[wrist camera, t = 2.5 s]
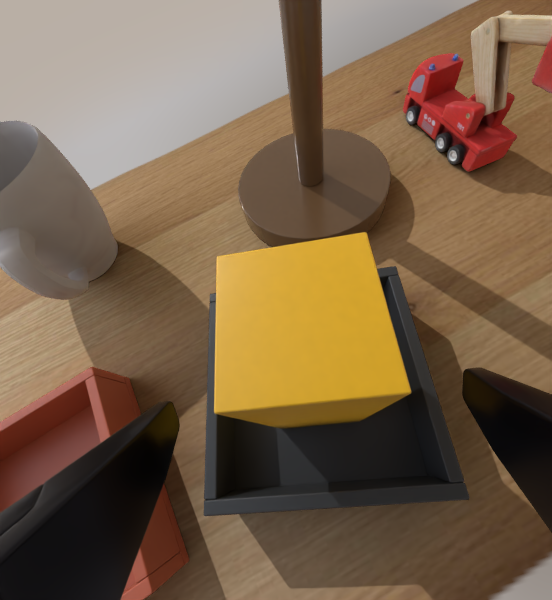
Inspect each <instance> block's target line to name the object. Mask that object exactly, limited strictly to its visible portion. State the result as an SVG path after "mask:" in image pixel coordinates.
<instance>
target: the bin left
mask: <svg viewBox="0 0 552 600" xmlns="http://www.w3.org/2000/svg"><path fill="white" fill-rule="evenodd" d="M140 415H141V413H140V409H139V406H138V403H137V400H136V397H135V394H134V391H133V388H132V385H131V382H130V379H129V378H127V377H123V376H121V375H117V374H114V373H111V372H108V371H104V370H101V369H98V368H95V367H90V368H88V369H87V370H85V371H84V372H82V373H80V374H79V375H77V376H75V377H74V378H72V379H70V380H69V381H67V382H65V383H64V384H62V385H60V386H59V387H57V388H55V389H54V390H52V391H51V392H49V393H47V394H46V395H44V396H42V397H41V398H39V399H37V400H36V401H34V402H32V403H31V404H29V405H27V406H26V407H24V408H23V409H21V410H19V411H18V412H16V413H14V414H13V415H11V416H9V417H8V418H6V419H4V420H3V421H1V422H0V512H2V511H3V510H5V509H6V508H8V507H9V506H11V505H12V504H14V503H15V502H16V501H18V500H19V499H21V498H22V497H24V496H25V495H27V494H28V493H30V492H31V491H32V490H34V489H35V488H37V487H38V486H40V485H41V484H44V483H45V481H47V480H48V479H50V478H51V477H53V476H54V475H55V474H57V473H58V472H60V471H61V470H63V469H64V468H65V467H67V466H68V465H70V464H71V463H73V462H74V461H75V460H77V459H78V458H80V457H81V456H83V455H84V454H85V453H87V452H88V451H90V450H91V449H93V448H94V447H95V446H97V445H98V444H100V443H101V442H103V441H104V440H105V439H107V438H108V437H110V436H111V435H113V434H114V433H115V432H117V431H118V430H120V429H121V428H123V427H124V426H125V425H127V424H128V423H130V422H131V421H133V420H134V419H135V418H137V417H138V416H140ZM188 561H189V557H188V554H187V551H186V548H185V545H184V542H183V539H182V536H181V533H180V530H179V527H178V524H177V521H176V518H175V515H174V512H173V509H172V506H171V503H170V500H169V497H168V494H167V491H166V488H165V485H164V484H163V487H162V490H161V492H160V495H159V498H158V500H157V503H156V506H155V509H154V511H153V514H152V517H151V519H150V522H149V525H148V527H147V530H146V533H145V535H144V538H143V541H142V544H141V546H140V549H139V552H138V554H137V557H136V560H135V562H134V565H133V568H132V570H131V573H130V576H129V579H128V581H127V584H126V587H125V589H124V592H123V595H122V597H121V600H144V599H145V598H147V597H148V596H149V595H151V594H152V593H153V592H154V591H156V590H157V589H158V588H159V587H160V586H161V585H162V584H164V583H165V582H166V581H167V580H168V579H169V578H170V577H171V576H173V575H174V574H175V573H176V572H177V571H178V570H179V569H181V568H182V567H183V566H184V565H185V564H186V563H187V562H188Z"/></svg>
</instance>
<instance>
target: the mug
mask: <svg viewBox="0 0 552 600" xmlns="http://www.w3.org/2000/svg"><path fill="white" fill-rule="evenodd" d="M117 252H118V245H117V242H116V240H115V239H114V237H113V235H112V232H111V229H110V226H109V223H108V221H107V218H106V216H105V214H104V212H103V210H102V208H101V206H100V204H99V202H98V201H97V199H96V197H95V196H94V194H93V193H92V191H91V190H90V188H89V187H88V185H87V184H86V183H85V181H84V180H83V179H82V177H81V176H80V175H79V173H78V172H77V171H76V170H75V169H74V167H73V166H72V165H71V164H70V162H69V161H68V160H67V159H66V158H65V157H64V156H63V154H62V153H61V152H60V151H59V150H58V149H57V148H56V147H55V146H54V144H53V143H52V142H51V141H50V140H49V139H48V138H47V137H46V136H45V135H44V134H43V133H42V132H41V131H40V130H39V129H38V128H36V127H35V126H33V125H30V124H28V123H25V122H21V121H6V122H0V267H1V268H2V269H3V271H4V272H5V273H6V274H8V275H9V276H10V277H11V278H13V279H14V280H15V281H17V282H18V283H19V284H21V285H23V286H24V287H26V288H27V289H29V290H31V291H33V292H35V293H37V294H39V295H42V296H45V297H49V298H54V299H61V300H67V299H73V298H76V297H78V296H80V295H81V294H83V293H85V292H86V291H87V289H88V287H89V281H92V280H94V279H96V278H98V277H99V276H101V275H102V274H104V273H105V272H106V271H107V270H108V269H109V268H110V267H111V265H112V264H113V262H114V261H115V258H116V256H117Z"/></svg>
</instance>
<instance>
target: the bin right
mask: <svg viewBox="0 0 552 600" xmlns="http://www.w3.org/2000/svg"><path fill="white" fill-rule="evenodd" d="M377 271H378V275H379V278H380V282H381V285H382V289H383V292H384V296H385V299H386V303H387V307H388V310H389V314H390V317H391V321H392V324H393V328H394V331H395V335H396V338H397V342H398V346H399V349H400V353H401V356H402V360H403V363H404V367H405V370H406V374H407V378H408V381H409V385H410V388H411V394H409V395H407V396H405V397H403V398H402V399H400V400H398V401H396V402H394V403H393V404H391V405H389V406H387V407H385V408H383V409H382V410H380V411H378V412H376V413H374V414H372V415H371V416H369V417H367V418H365V419H363V420H361V421H360V422H349V423H338V424H328V425H317V426H307V427H296V428H285V429H280V428H276V427H272V426H267V425H263V424H258V423H254V422H249V421H245V420H241V419H236V418H232V417H227V416H223V415H219V414H215V413H214V387H215V329H216V293H214V294H210V311H209V347H208V383H207V419H206V454H205V490H204V499H205V501H204V516H215V515H231V514H247V513H263V512H279V511H295V510H311V509H327V508H343V507H359V506H375V505H391V504H407V503H423V502H439V501H455V500H469V499H470V497H469V494H468V491H467V488H466V485H465V483H464V479H463V475H462V472H461V469H460V466H459V463H458V460H457V457H456V453H455V450H454V447H453V444H452V441H451V438H450V435H449V431H448V428H447V425H446V422H445V419H444V416H443V413H442V409H441V406H440V403H439V400H438V397H437V394H436V391H435V388H434V384H433V381H432V378H431V375H430V372H429V369H428V366H427V362H426V359H425V356H424V353H423V350H422V347H421V344H420V340H419V337H418V334H417V331H416V328H415V325H414V322H413V318H412V315H411V312H410V309H409V306H408V303H407V300H406V297H405V293H404V290H403V287H402V284H401V281H400V278H399V275H398V271H397V268H396V266H394V267H387V268H380V269H377Z"/></svg>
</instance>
